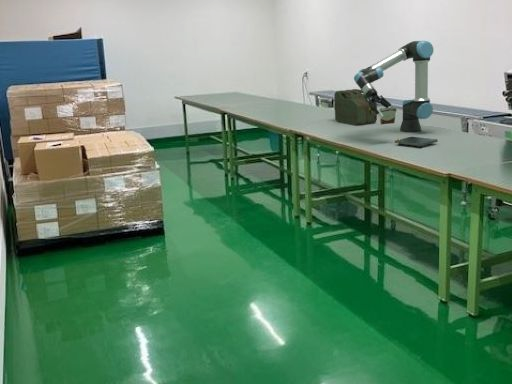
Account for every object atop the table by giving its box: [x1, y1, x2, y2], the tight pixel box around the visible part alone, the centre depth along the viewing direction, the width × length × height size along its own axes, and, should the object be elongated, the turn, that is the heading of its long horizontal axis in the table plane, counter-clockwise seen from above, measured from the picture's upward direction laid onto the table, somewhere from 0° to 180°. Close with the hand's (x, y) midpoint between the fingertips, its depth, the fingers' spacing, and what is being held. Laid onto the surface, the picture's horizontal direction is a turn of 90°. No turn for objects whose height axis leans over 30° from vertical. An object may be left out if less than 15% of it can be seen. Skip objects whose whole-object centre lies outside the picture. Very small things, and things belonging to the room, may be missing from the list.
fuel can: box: [334, 88, 378, 126], centre depth 452 cm, size 19×35×27 cm, turn 24°
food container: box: [378, 107, 397, 125], centre depth 357 cm, size 12×6×10 cm, turn 102°
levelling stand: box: [394, 136, 439, 149], centre depth 348 cm, size 18×20×4 cm
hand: (387, 116), depth 355 cm, fingers closed on food container, 11 cm apart
